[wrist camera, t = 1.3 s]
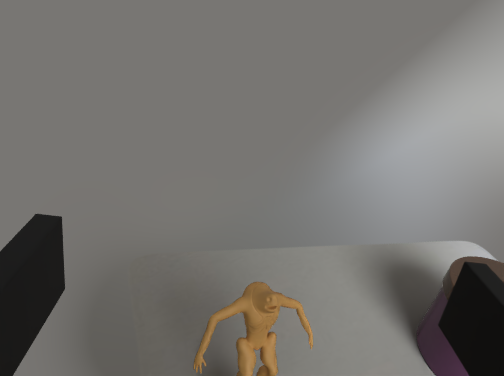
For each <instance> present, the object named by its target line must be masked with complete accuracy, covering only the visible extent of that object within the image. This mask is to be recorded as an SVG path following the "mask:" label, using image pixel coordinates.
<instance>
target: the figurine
mask: <svg viewBox="0 0 504 376" xmlns="http://www.w3.org/2000/svg"><path fill="white" fill-rule="evenodd" d="M280 306H283V307H287V308H293V309H296V310H297V314H298V316H299V318H300V321H301V323H302V325H303V327H304V329H305V330H306V332H307V333H308V335H309V344H310V346H311V349H312V347H313V335H312V330H311V328H310V324H309V322H308V320H307V318H306V316H305V314H304V311H303V307H302V305H301V303H300V302H298V301H297V300H294V299H292V298H289V297H285V296H284V295H283V294H281V293H278V292H274V291H272V290H271V289H270V287H269V286H268V285H267V284H265V283H263V282H254V283H251V284H250V285H248V286H247V287H246V289H245V291H244V293H243V295H242V297H240V298H238V299H237V300H236V301H235V302H233V303H232V304H231V305H229V306H227V307H225V308H223V309H221V310H220V311H218V312H216V313H215V314H213V315H212V316H211V317H210V319H209V321H208V325H207V329H206V331H205V334H204V336H203V339H202V341H201V344H200V348H199V350H198V352H197V354H196V357H195V361H194V370H195V366H196V372H198V366H199V368H200V373H202V363H204V365H205V367H206V362H205V360H204V358H203V354H204V352H205V350H206V349H207V347H208V345H209V343H210V340H211V337H212V334H213V332H214V330H215V327H216V324H217V322H219V321H221V320H224V319H226V318H229V317H231V316H233V315H235V314H237V313H241V312H242V313H244V319H245V325H246V328H247V329H246V330H247V336H246V338H239V339H238V340H237V342H236V348H237V351H238V367H239V371H238V373H237V376H252V375H253V369H254V367H255V364H256V355H255V352H254V349H255V350H259V349H260V348H261V350H260V358H261V361H262V362H263V364H264V365H263V366H261V367H260V368H259V370H258V372H257V376H275V375H276V374H277V373H278V368H277V358H276V351H275V345H276V334H275V333H274V332H269V333H268V331H269V330H270V329H271V327H272V325H273V324H274V323H275V322H276V320H277V318H278V314H279V310H280Z"/></svg>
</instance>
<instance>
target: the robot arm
mask: <svg viewBox="0 0 504 376" xmlns="http://www.w3.org/2000/svg"><path fill="white" fill-rule="evenodd" d="M64 289H65V279H64V257H63V235H62V217H59V216H51V215H42V214H35V215H34V217H33V218H32V219H31V220H30V221H29V222H28V223H27V224H26V225H25V226H24V227H23V228H22V229H21V230H20V231H19V232H18V233H17V234H16V235H15V237H14V238H13V239H12V240H11V241H10V242H9V243H8V244H7V245H6V246H5V247H4V248H3V249H2V250H1V251H0V376H13V374H14V373H15V371H16V369H17V368H18V366H19V364H20V363H21V361H22V359H23V358H24V356H25V355H26V353H27V351H28V350H29V348H30V346H31V345H32V343H33V341H34V340H35V338H36V336H37V335H38V333H39V331H40V329H41V328H42V326H43V325H44V323H45V321H46V319H47V318H48V316H49V315H50V313H51V311H52V310H53V308H54V306H55V305H56V303H57V301H58V300H59V298H60V296H61V294H62V293H63V291H64ZM438 326H439V328H440V329H441V331H442V332H443V334H444V336H445V337H446V339H447V341H448V342H449V344H450V345H451V347H452V349H453V350H454V352H455V354H456V355H457V357H458V358H459V360H460V362H461V363H462V365H463V367H464V368H465V370H466V371H467V373H468V375H469V376H504V282H503V281H502V280H501V279H500V278H499V277H498V276H497V275H496V274H495V273H494V272H493V271H492V270H491V269H490V267H489V266H488V265H487V264H483V263H474V262H464V264H463V266H462V269H461V271H460V273H459V276H458V278H457V281H456V283H455V285H454V288H453V290H452V292H451V295H450V297H449V300H448V302H447V304H446V307H445V309H444V311H443V314H442V316H441V319H440V321H439V323H438Z"/></svg>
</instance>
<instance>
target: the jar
mask: <svg viewBox="0 0 504 376" xmlns="http://www.w3.org/2000/svg"><path fill="white" fill-rule="evenodd" d="M464 262H474V263H483V264H487V265H488V266H489V267H490V269H491V270H492V271H493V272H494V273H495V274H496V275H497V276H498V277H499V278H500V279H501V280H502V281H503V282H504V263H501V262H498V261H495V260H492V259H488V258H482V257H463V258H459V259H457V260H455V261H454V262H453V263H452V264H451V266H450V268H449V269H448V271H447V273H446V274H445V276H444V278H443V286H442V288H441V289H440V291H439V293H438V294H437V296H436V298H435V299H434V301H433V302H432V304H431V306H430V307H429V309H428V311H427V312H426V314H425V316H424V317H423V319H422V321H421V322H420V324H419V326H418V328H417V343H418V347H419V349H420V352H421V354H422V356H423V358H424V360H425V361H426V363H427V364H428V366H429V367H430V368H431V370H432V371H433V372H434V373H435V375H436V376H469V375H468V373H467V371H466V370H465V368H464V367H463V365H462V363H461V362H460V360H459V358H458V357H457V355H456V354H455V352H454V350H453V349H452V347H451V345H450V344H449V342H448V341H447V339H446V337H445V336H444V334H443V332H442V331H441V329H440V328H439V326H438V323H439V321H440V319H441V316H442V314H443V311H444V309H445V307H446V304H447V302H448V300H449V297H450V295H451V292H452V290H453V288H454V285H455V283H456V281H457V278H458V276H459V273H460V271H461V269H462V266H463V264H464Z"/></svg>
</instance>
